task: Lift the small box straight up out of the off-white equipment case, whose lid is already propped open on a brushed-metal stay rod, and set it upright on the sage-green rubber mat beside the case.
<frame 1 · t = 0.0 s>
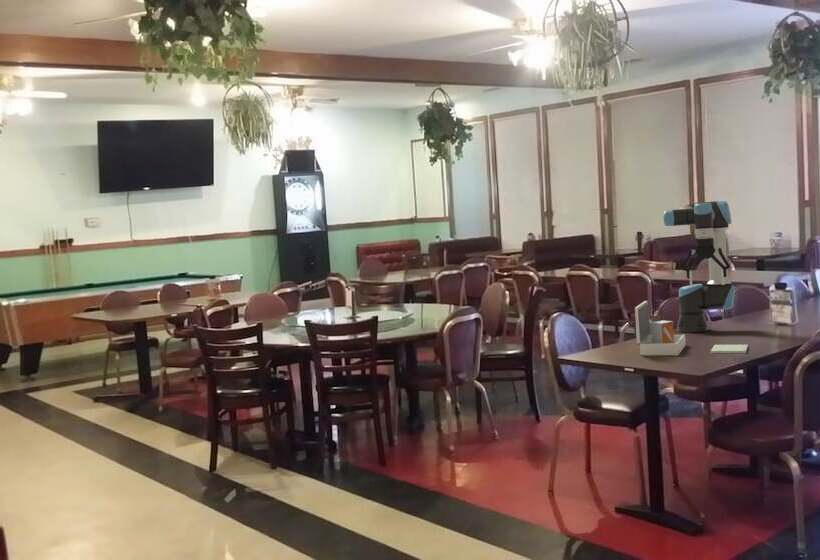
hand: (707, 285, 369), 28 cm above the table, fingers open, 13 cm apart
coffee pot: (658, 342, 396), on the table
sage mat: (729, 350, 361), on the table
small box: (663, 350, 373), resting in equipment case
equipment case: (663, 350, 373), on the table
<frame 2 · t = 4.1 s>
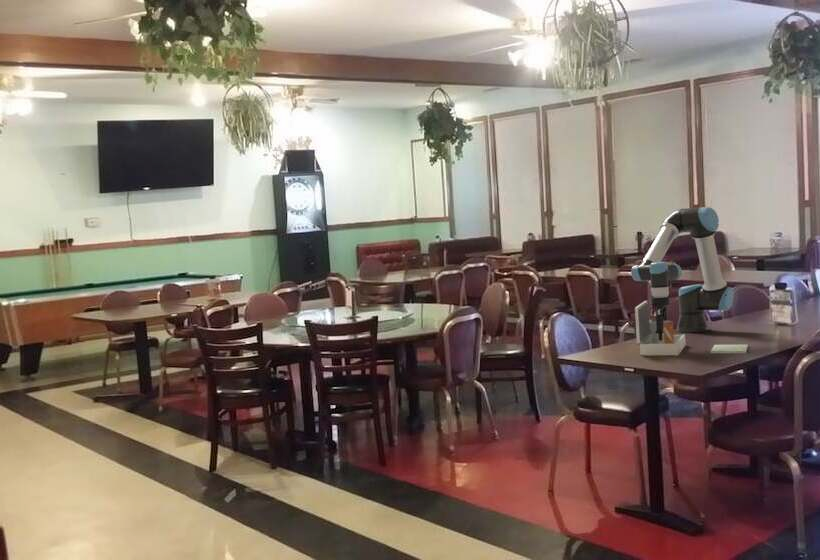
hand: (663, 345, 373), 2 cm above the table, fingers closed on small box, 10 cm apart
small box: (663, 350, 373), resting in equipment case, touching gripper
everything else where it was.
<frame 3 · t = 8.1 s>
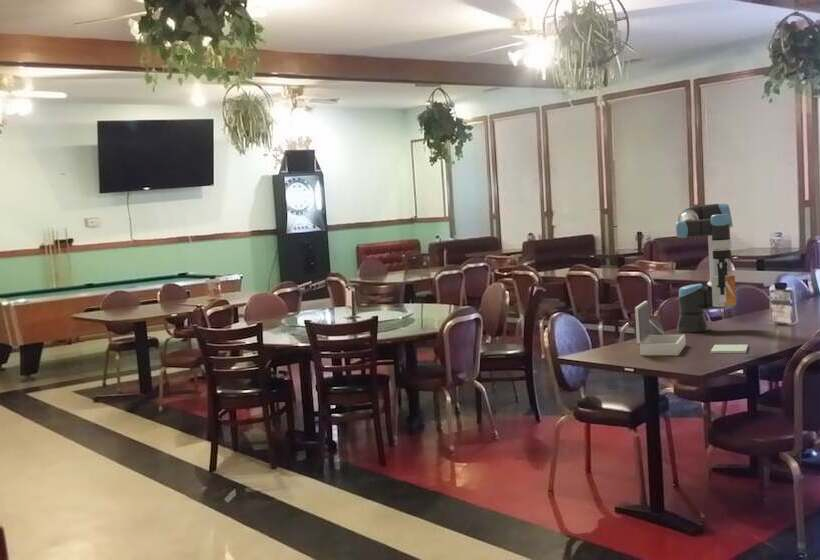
hand: (724, 300, 360), 22 cm above the table, fingers closed on small box, 10 cm apart
small box: (724, 306, 360), point 19 cm above the table, touching gripper
everything else where it was.
when the fingers open (5 cm above the table, at t = 12.1 s): small box drops 1 cm, resting on sage mat.
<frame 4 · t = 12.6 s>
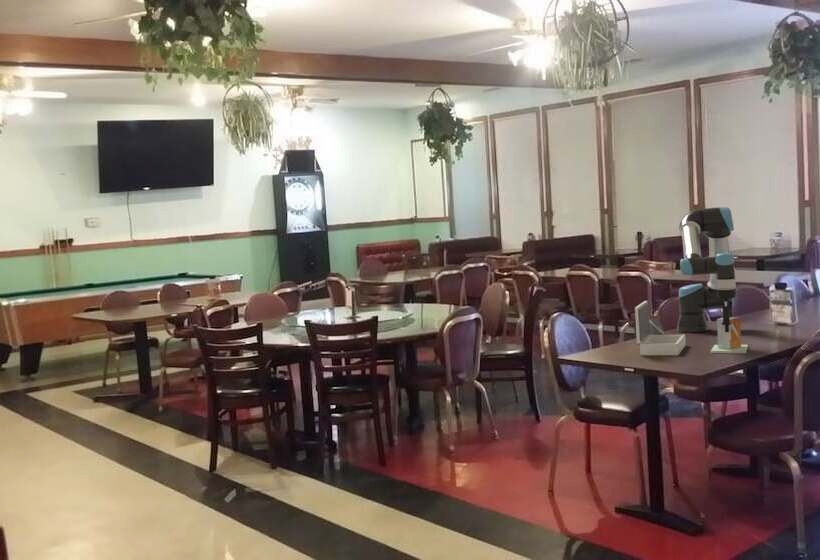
hand: (728, 337, 360), 6 cm above the table, fingers open, 13 cm apart
small box: (729, 347, 361), point 1 cm above the table, touching sage mat
everything else where it was.
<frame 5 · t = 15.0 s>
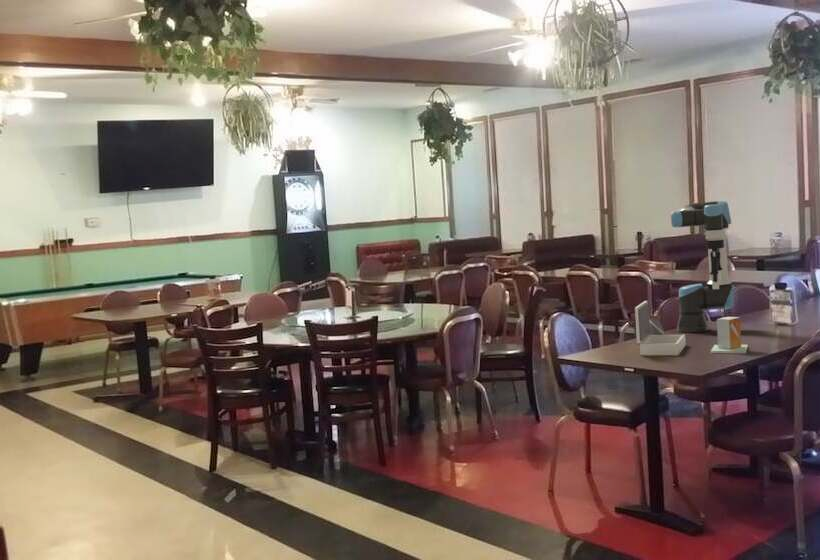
hand: (717, 287, 368), 27 cm above the table, fingers open, 13 cm apart
nothing on the table moved.
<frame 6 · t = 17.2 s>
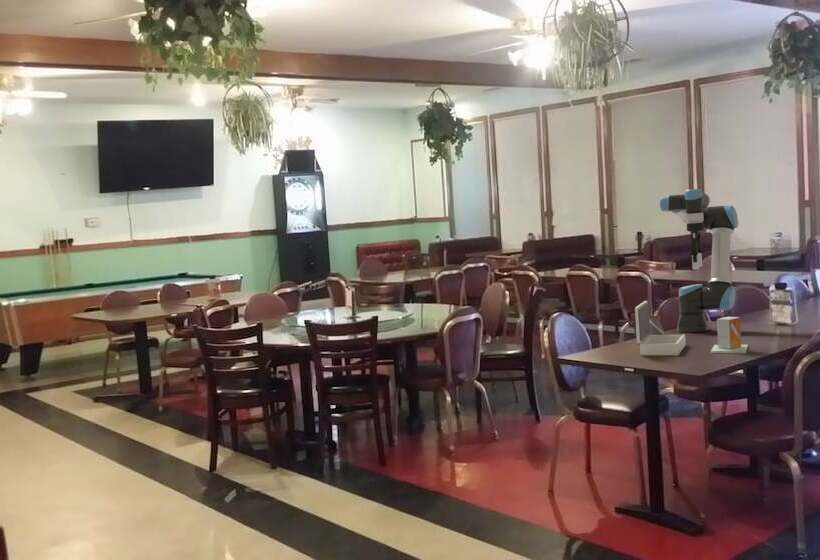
hand: (697, 268, 384), 35 cm above the table, fingers open, 13 cm apart
nothing on the table moved.
at the end: small box inside the target area on the sage mat (0.7 cm from its centre), point 0.8 cm above the sage mat's base; small box tilted 0°; the gripper is holding nothing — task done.
